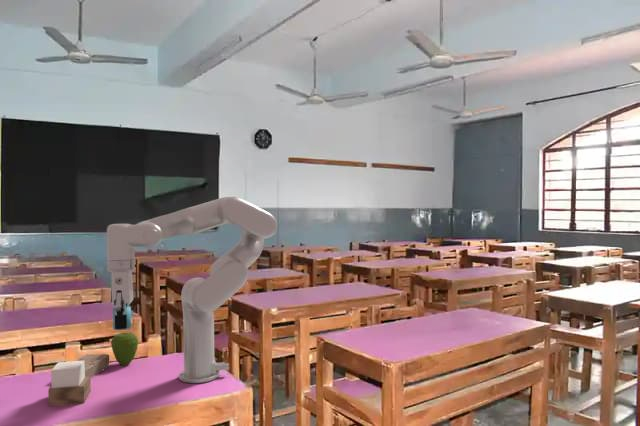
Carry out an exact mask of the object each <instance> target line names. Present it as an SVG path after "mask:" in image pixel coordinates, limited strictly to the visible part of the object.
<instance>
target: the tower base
mask: <svg viewBox="0 0 640 426" xmlns="http://www.w3.org/2000/svg"><path fill="white" fill-rule="evenodd" d="M91 378H92V377H91V376H85V378H84V379H83V381H82V382H81V384H80V385H79V386H72V387H60V388H52V385H50V387H49V388H48V389H47V390H48V391H47V392H48V393H47V395H48V407H56V406H57V407H58V406H68V405H69V406H70V405H77V404H85V402H86V400H87V399H88V398H89V395H90V394H91V392H92V389H91V386H92V385H91V381H92V380H91Z"/></svg>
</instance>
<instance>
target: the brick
mask: <svg viewBox="0 0 640 426" xmlns="http://www.w3.org/2000/svg"><path fill="white" fill-rule="evenodd" d="M83 360H84V362H85V376H91V378H93V377H95V376H97V375H98V374H100V373H101V372H102V370H103V369H104V370H106V369H107V368H108V367H109V366H108V365H110V354H107V353H106V354H105V353H95V354H94V353H92V354H90V353H89V354H85V355H82V356H81V357H79V358H78V359H77V360H76V361H83ZM107 366H108V367H107ZM106 367H107V368H106ZM105 368H106V369H105ZM104 370H103V371H104ZM99 372H100V373H99Z"/></svg>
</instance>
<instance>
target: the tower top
mask: <svg viewBox="0 0 640 426" xmlns="http://www.w3.org/2000/svg"><path fill="white" fill-rule="evenodd" d="M50 372H51V373H50V375H51V376H50V377H51V386H52V388H60V387H72V386H79V385H80V384H81V382H82V381H83V379H84V378H85V362H84V360H83V361H77V360H75V361H74V360H73V361H72V360H71V361H60V362H57V363H56V364H55V365H54V366H53V368H52V369H51V370H50Z"/></svg>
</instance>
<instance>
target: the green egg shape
mask: <svg viewBox="0 0 640 426" xmlns="http://www.w3.org/2000/svg"><path fill="white" fill-rule="evenodd" d="M110 345H111V349H112V353H113V355H114V358H115V360H116V362H117V363H118V364H119V365H120V366H122V365H127V366H128V364H129V365H130V364H131V363H132V361H133V360H134V359H135V356H136V354H137V351H138V347H139V339H138V336H137V335H136V334H134V333H133V332H125V331H124V332H121V333H118V334H115V335H114V336H113V337H112V339H111V342H110Z"/></svg>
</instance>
